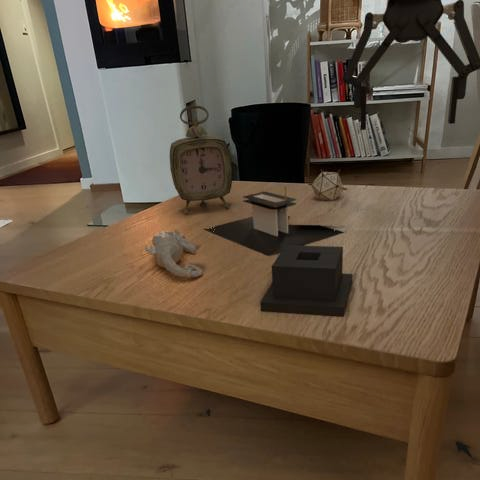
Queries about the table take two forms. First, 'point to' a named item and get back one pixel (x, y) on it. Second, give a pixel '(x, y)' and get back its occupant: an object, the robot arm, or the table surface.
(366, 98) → the robot arm
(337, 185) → the game die
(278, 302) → the base pad
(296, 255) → the black square block
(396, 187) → the table surface
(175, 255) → the seahorse
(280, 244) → the architectural model
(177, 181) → the tabletop clock
